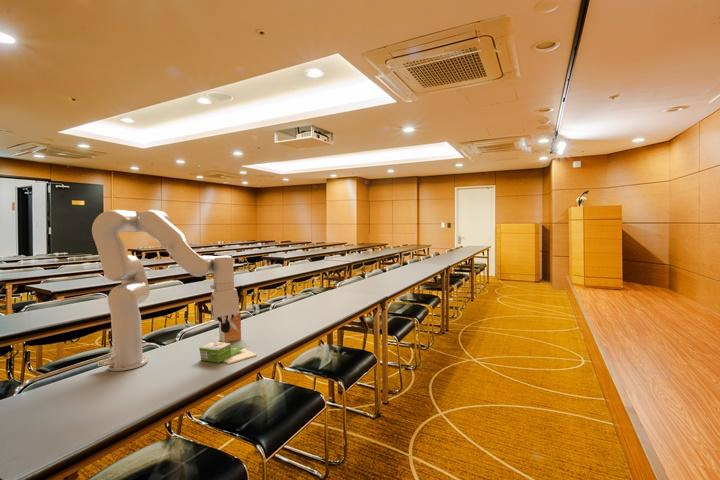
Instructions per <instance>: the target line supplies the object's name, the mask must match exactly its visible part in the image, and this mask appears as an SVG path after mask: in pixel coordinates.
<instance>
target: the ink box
mask: <svg viewBox="0 0 720 480" xmlns="http://www.w3.org/2000/svg"><path fill="white" fill-rule="evenodd" d="M235 348H237V349H235ZM198 349H199V354H200V360H201V361H202V362H203V361H205V362H211V363H217V364H218V363H221V362H223V360H225V359H226V358H228V357H230V356H232V355H233V354H235V353H237V352H239V351H240V350H242V349H245V347H242V346H236V345H235V346H234V345H232V343H230V342H227V343H224V342H222V341H214V340H212V341H211V342H208V343H207V344H204V345H203V346H201V347H199V348H198ZM233 349H235V350H233Z"/></svg>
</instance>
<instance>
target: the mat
mask: <svg viewBox="0 0 720 480" xmlns="http://www.w3.org/2000/svg"><path fill="white" fill-rule="evenodd" d="M232 349H233V350H235V349H237V348H232ZM257 356H258V354H256V353H255V352H252V351H250V350H248V349H246V348H244V349H242V350H240V351H239V352H237V353H235V354H233V355H232V356H230V357H228V358H226V359H225V360H223V361H222V362H223V363H225V364H227V365H231V364H234V363H237V362H241V361H244V360H248V359H251V358H254V357H257Z"/></svg>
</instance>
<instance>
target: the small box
mask: <svg viewBox="0 0 720 480" xmlns="http://www.w3.org/2000/svg"><path fill="white" fill-rule="evenodd" d="M241 314H242V313H241V312H240V311H239V312H238V315H237V316H234V317H233V318H232V320H231V322H230V329H229V332H227V333H224V332H222V331H221V322H219V321H218V333H219V334H218V336H219V342H223V343H230V342H235V341H239V340H240V341H241V340H242V324H241V323H242V321H241V319H242V318H241V316H242V315H241ZM224 317H226V316H224Z"/></svg>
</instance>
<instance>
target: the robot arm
mask: <svg viewBox="0 0 720 480" xmlns="http://www.w3.org/2000/svg"><path fill="white" fill-rule="evenodd" d="M91 233H92V234H91V235H92V238H93V241H94V243H95V244H94V245H95V247H96V249H97V253H98V257H99V261H100V263H101V267H102V270H103V271H102V272H103V273H104V276H105V278H107V280H109V281H111V282H121V284H118V285H117V286H115V287H113V288H112V289H111V290H110V291H109V293H108V296H107V305H108V308H109V313H110V321H111V324H110V325H111V337H112V338H111V339H112V342H111V343H112V354H111V355H110V357H107V359H102V360H97V367H102V366H103V367H107V366H108V370H110V371H112V372H122V371H123V372H124V371H129V370H133V369H137V368H139V367H143V366H144V365H146V364H147V362H148V357H147V356H144V355H143V335H142V333H143V331H142V316H141V311H140V308H139V304H141V303H144V302H145V301H147V300H148V298H149V296H150V292H151V290H150V285H149V282H148V279H147V274H146V270H145V267H144V265H143V263H142V261H141V260H140V259H139V258H138V257H137V256H134V255H130V254H127V251H126V248H125V243H124V241H123V240H122V238H121V237H120V233H147V235H149V236H150V237H151V238H152V239H153V240H155V241H156V242H158V244H160V245H161V246H162V247H163V248H164V249H165V250H166V251H167V253H168V254H169V255H170V257H171V258H172V260H173V261H174V262H175V263H176V264H178V266H179V267H181V268H182V269H183V270H184V271H186V272H187V274H189V275H191V276H194V277H196V278H199V277H200V278H201V277H204V276H206V275H209V274H213V283H212V284H211V285H210V289H211V290H212V292H211V298H210V314H211V316H210V317H211V318H210V319H211V320H213V321H218V323H219V322H221V331H222V332H224V333H227V332H229V329H230V322H231V320H232V318H233V317H234V316H237V315H238V312H240V302H239V294H238V291H237V290H238V289H237V288H235V277H234V276H235V275H234V274H235V271H234V258H233V256H231V255H217V256H216V255H215V256H214V255H199V254H198V252H196V251H195V250H193V249H192V248H191V246H190V245H188V243H187V240H186V236H185V234H184V233H183V232H182V231H181V230H180V229H178V228H177V226H175V225H174V224H173V223H171V218H170V216H169V215H168V214H167V213H166V212H164V211H162V210H161V211H160V210H155V209H148V210H145V211H135V210H133V211H132V210H124V209H123V210H122V209H110V210H109V209H108V210H105V211H104V212H102V213H100V214H99V215H97V216H96V218H95V219H94V221H93V223H92V227H91ZM224 316H226V317H224Z"/></svg>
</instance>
